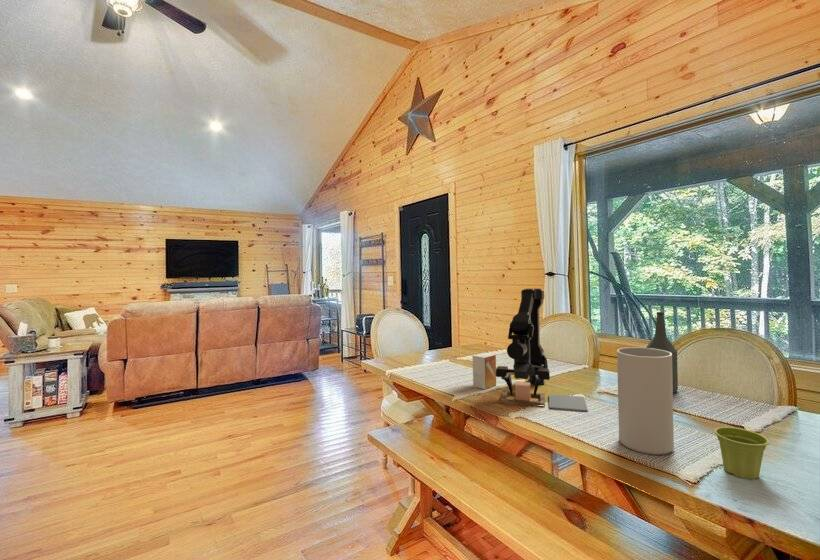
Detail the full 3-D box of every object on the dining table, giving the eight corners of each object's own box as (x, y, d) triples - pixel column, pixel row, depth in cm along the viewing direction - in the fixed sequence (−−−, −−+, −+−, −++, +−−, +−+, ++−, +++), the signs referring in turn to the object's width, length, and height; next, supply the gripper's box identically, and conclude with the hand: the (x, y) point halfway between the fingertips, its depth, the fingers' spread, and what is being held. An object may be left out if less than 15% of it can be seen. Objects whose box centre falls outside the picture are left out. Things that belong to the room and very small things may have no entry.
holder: (503, 393, 149) (503, 390, 149) (544, 396, 144) (544, 393, 144) (500, 403, 139) (500, 400, 139) (544, 406, 134) (544, 403, 134)
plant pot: (758, 466, 91) (758, 429, 90) (777, 487, 82) (777, 447, 82) (709, 460, 94) (709, 424, 94) (723, 479, 86) (722, 440, 86)
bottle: (677, 387, 150) (676, 310, 149) (678, 395, 142) (676, 313, 141) (646, 384, 156) (645, 310, 155) (645, 391, 147) (643, 312, 147)
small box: (485, 389, 155) (484, 357, 155) (472, 386, 160) (471, 355, 159) (497, 385, 161) (496, 354, 160) (484, 382, 165) (483, 352, 165)
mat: (549, 395, 145) (549, 394, 145) (583, 398, 141) (583, 396, 141) (549, 408, 132) (549, 407, 132) (587, 411, 128) (587, 410, 128)
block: (516, 397, 145) (516, 381, 145) (530, 398, 143) (530, 382, 143) (515, 401, 140) (515, 385, 140) (530, 403, 138) (529, 386, 138)
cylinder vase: (628, 431, 112) (627, 345, 112) (679, 444, 103) (678, 351, 102) (611, 445, 104) (609, 352, 103) (665, 461, 94) (663, 359, 94)
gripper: (493, 357, 137) (494, 401, 137) (549, 359, 131) (550, 405, 131) (497, 350, 147) (498, 391, 148) (548, 352, 141) (550, 395, 141)
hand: (523, 395), depth 142 cm, fingers open, 8 cm apart
